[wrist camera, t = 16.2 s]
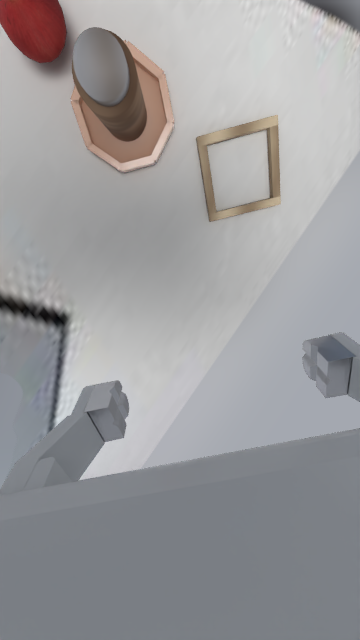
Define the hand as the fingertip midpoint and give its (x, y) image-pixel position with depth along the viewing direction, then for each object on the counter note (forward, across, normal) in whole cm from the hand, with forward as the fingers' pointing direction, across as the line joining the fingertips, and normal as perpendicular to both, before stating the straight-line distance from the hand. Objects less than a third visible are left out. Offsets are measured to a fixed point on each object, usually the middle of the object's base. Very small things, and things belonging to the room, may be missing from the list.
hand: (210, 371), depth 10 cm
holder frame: (+29, -10, -8) cm, 32 cm away
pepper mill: (+28, +3, -17) cm, 33 cm away
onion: (+29, +9, -25) cm, 40 cm away
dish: (+29, +3, -17) cm, 34 cm away
